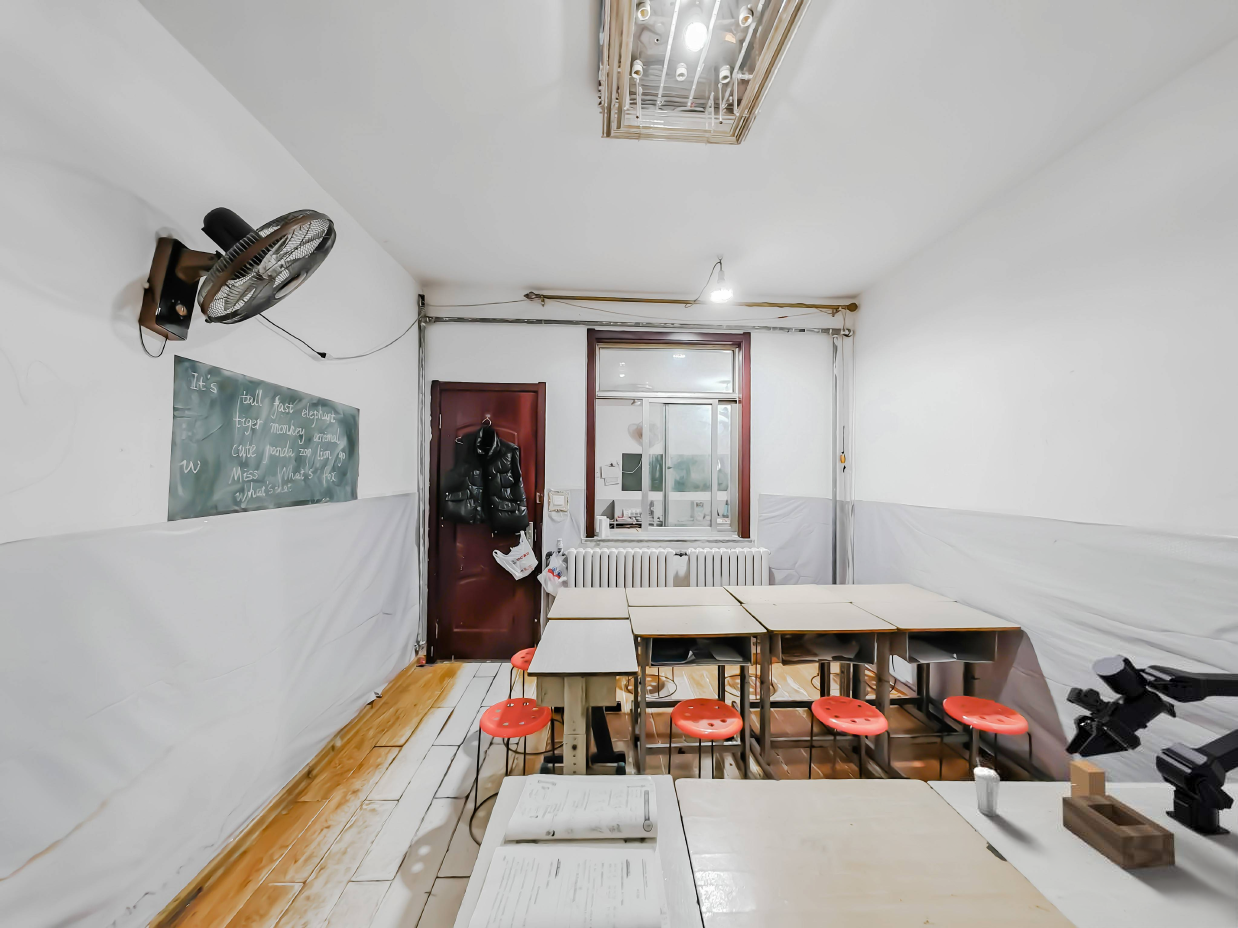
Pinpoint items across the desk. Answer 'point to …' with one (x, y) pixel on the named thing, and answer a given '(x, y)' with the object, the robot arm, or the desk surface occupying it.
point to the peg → (1086, 779)
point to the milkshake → (986, 789)
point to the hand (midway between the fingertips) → (1073, 753)
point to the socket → (1119, 832)
